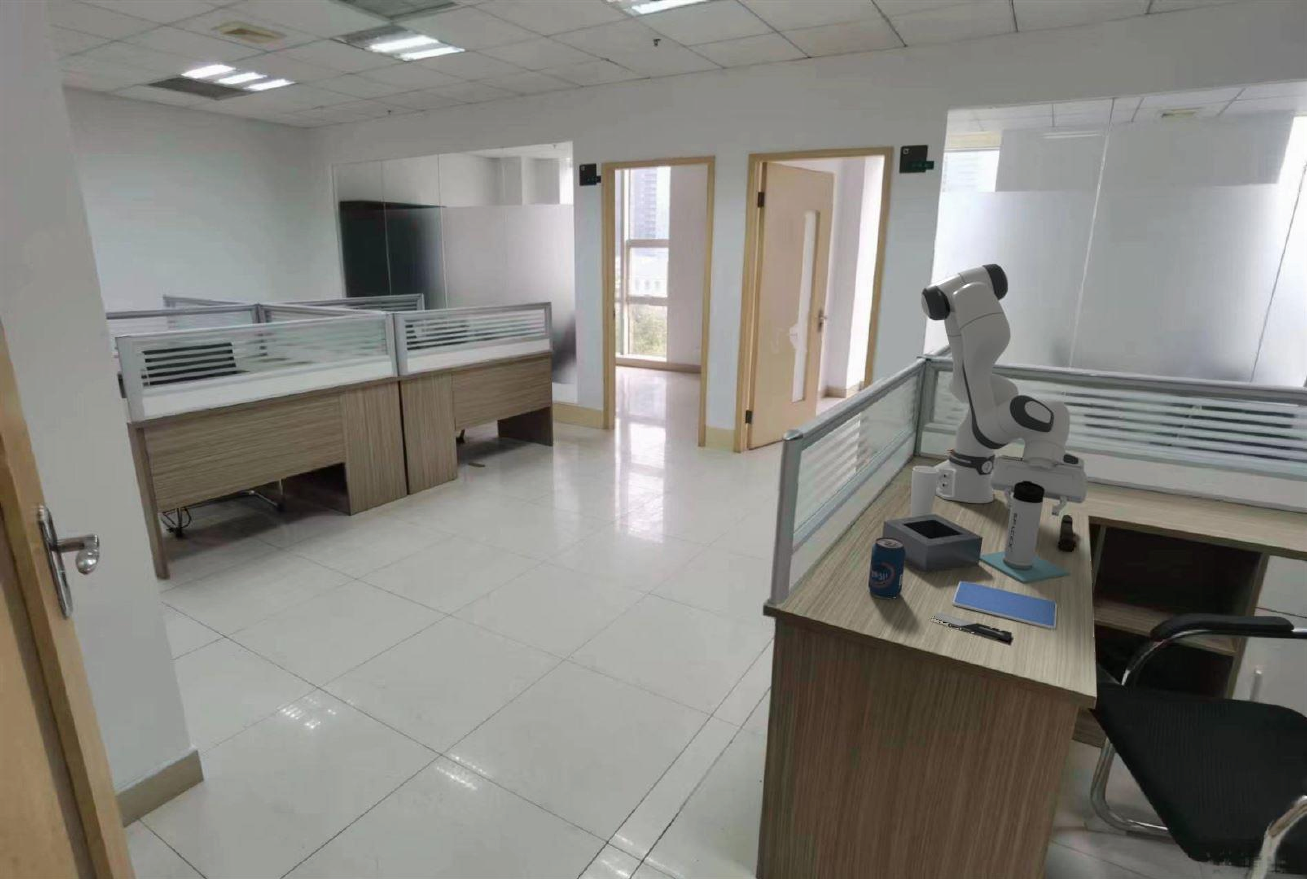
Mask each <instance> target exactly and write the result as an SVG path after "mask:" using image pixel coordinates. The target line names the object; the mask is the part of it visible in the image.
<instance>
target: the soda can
mask: <svg viewBox="0 0 1307 879" xmlns="http://www.w3.org/2000/svg"><path fill="white" fill-rule="evenodd" d="M905 555H906V551H905V549H904V544H903V542H902V541H900V540H898V539H895V538H890V537H878V538H876V539H875V542H874V543H873V545H872V547H871V555H870V556H871V557H870V566H869V574H868V588H869V590H870V592H871V594H872V593H873V594H874V595H873V594H872V595H873V596H875V595H876V596H875V597H877V596H878V597H877V598H880V597H882V598H881V599H884V598H893V599H895V598H894V597H896V598H897V597H898V596H899V595H900V594H901V592H902V590H903V581H904V572H905V563H906V562H905Z"/></svg>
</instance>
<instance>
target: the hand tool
mask: <svg viewBox="0 0 1307 879" xmlns="http://www.w3.org/2000/svg"><path fill="white" fill-rule="evenodd" d="M1073 520H1074V519H1073V518H1072V516H1071V515H1069V514H1063V516H1062V518H1061V520H1060V521H1061V522H1060V530H1059V539H1058V541H1057V546H1056V549H1057V550H1058V551H1060V552H1063V553H1064V552H1065V553H1073V552H1074V551H1075V548H1076V547H1077V541H1076V540H1075V538H1076V534H1075V533H1074V529H1073Z"/></svg>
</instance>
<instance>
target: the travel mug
mask: <svg viewBox="0 0 1307 879" xmlns="http://www.w3.org/2000/svg"><path fill="white" fill-rule="evenodd" d="M1044 491H1045V490H1044V488H1043V487H1042V486H1040V485H1038V484H1035V483H1032V482H1031V481H1023V482H1019V483H1016V484H1015V487H1014V493H1013V495H1012V505H1011V508H1010V511H1009V512H1010V513H1009V518H1008V519H1009V520H1008V525H1007V526H1008V527H1007V531H1006V532H1007V533H1006V537H1005V538H1006V539H1005V544H1004V545H1005V546H1004V550H1003V551H1004V557H1003V562H1004V564H1006V565H1007V566H1009V567H1011V568H1015V569H1020V570H1027V569H1030V568H1032V565H1033V559H1034V555H1035V553H1036V546H1037V541H1038V534H1039V528H1040V524H1041V523H1040V522H1041V516H1042V510H1043V503H1044V498H1043V497H1044Z"/></svg>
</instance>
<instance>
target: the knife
mask: <svg viewBox="0 0 1307 879" xmlns="http://www.w3.org/2000/svg"><path fill="white" fill-rule="evenodd" d="M934 615H935V616H934V618H933V619H936V620H939V621H943V623H949V624H948V626H949V627H948V628H951V627H952V629H954V628H959V630H958V631H962V632H965V633H968V632H969V633H968V634H971V635H974V636H977V637H982V638H984V639H988V640H992V641H995V642H999V643H1002V644H1005V645H1009V646H1011V645H1012V642H1013V639H1014V637H1012V631H1011V632H1010V631H1007V630H1004V629H1002V630H1001V629H1000V628H996V627H992V626H989V625H985V624H983V623H976V622H974V621H973V622H972V621H969V620H965V619H962V618H959V617H955V616H952V615H949V614H945V613H941V612H936V613H935V614H934ZM931 619H932V617H931V618H930V620H931ZM939 623H940V622H939ZM950 625H951V626H950ZM960 628H961V630H960ZM971 632H974V633H971Z"/></svg>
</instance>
